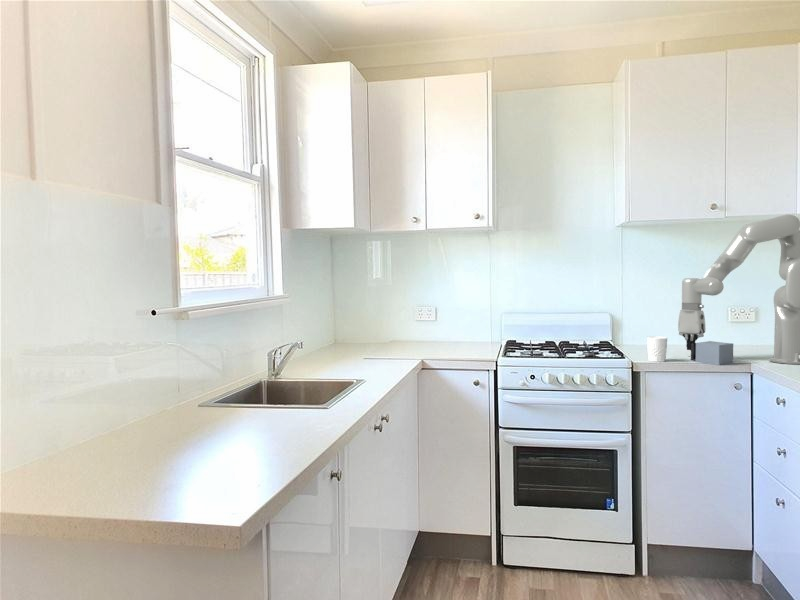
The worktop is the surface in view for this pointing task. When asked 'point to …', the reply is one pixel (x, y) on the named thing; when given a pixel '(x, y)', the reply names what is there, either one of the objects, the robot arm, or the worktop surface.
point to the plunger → (693, 351)
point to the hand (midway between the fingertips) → (690, 349)
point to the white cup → (657, 348)
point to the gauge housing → (714, 353)
